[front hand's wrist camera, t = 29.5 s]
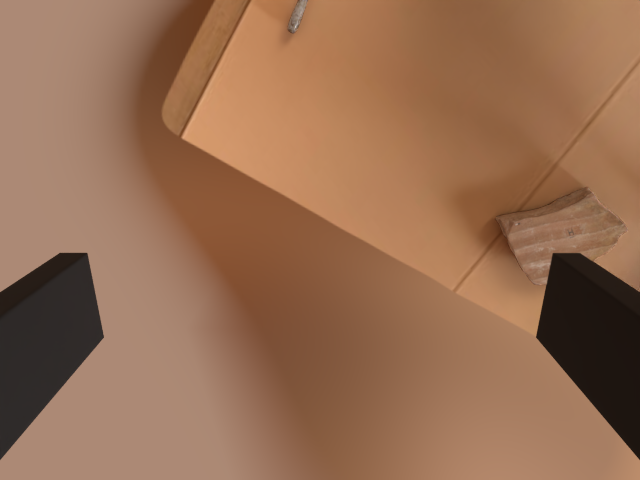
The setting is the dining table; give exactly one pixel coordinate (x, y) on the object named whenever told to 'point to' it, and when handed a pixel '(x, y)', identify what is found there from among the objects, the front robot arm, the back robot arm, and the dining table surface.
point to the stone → (560, 232)
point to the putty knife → (297, 16)
